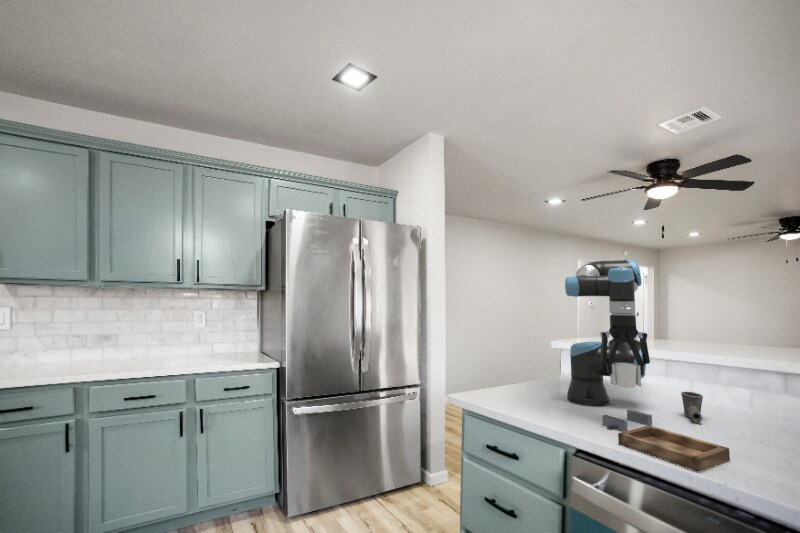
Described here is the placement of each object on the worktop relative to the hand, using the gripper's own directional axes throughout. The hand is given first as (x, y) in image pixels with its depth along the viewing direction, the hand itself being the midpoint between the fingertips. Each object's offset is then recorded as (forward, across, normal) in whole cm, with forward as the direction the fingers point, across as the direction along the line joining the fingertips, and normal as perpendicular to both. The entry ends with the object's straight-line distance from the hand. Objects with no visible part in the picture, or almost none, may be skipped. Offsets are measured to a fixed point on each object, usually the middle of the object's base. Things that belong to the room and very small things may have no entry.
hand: (625, 384), depth 127 cm
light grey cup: (+1, 0, 0) cm, 1 cm away
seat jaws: (+13, 0, 0) cm, 13 cm away
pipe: (+13, +24, +11) cm, 30 cm away
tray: (+13, +4, -22) cm, 26 cm away
